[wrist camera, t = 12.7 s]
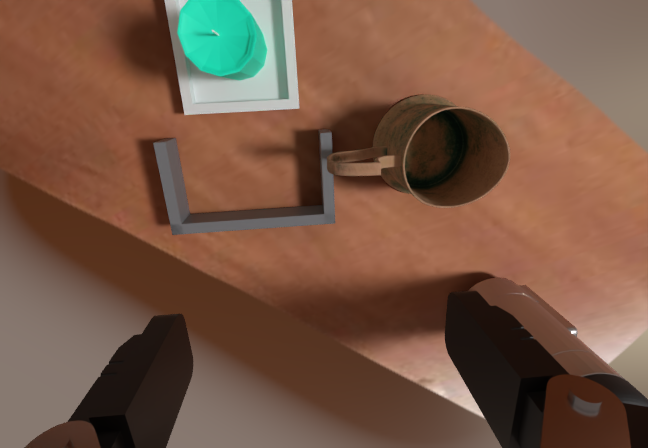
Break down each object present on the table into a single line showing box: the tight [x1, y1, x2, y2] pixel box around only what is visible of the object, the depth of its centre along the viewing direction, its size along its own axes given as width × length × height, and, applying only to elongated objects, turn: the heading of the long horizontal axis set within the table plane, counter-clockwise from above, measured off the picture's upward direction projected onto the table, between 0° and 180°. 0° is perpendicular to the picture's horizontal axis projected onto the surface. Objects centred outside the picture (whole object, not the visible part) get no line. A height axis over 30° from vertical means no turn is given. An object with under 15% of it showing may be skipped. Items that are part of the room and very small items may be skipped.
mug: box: [327, 95, 510, 208], centre depth 37 cm, size 12×18×12 cm, turn 91°
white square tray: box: [164, 0, 299, 115], centre depth 37 cm, size 12×12×2 cm
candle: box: [177, 0, 267, 81], centre depth 32 cm, size 6×6×12 cm
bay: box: [153, 129, 335, 235], centre depth 41 cm, size 18×10×4 cm, turn 93°
